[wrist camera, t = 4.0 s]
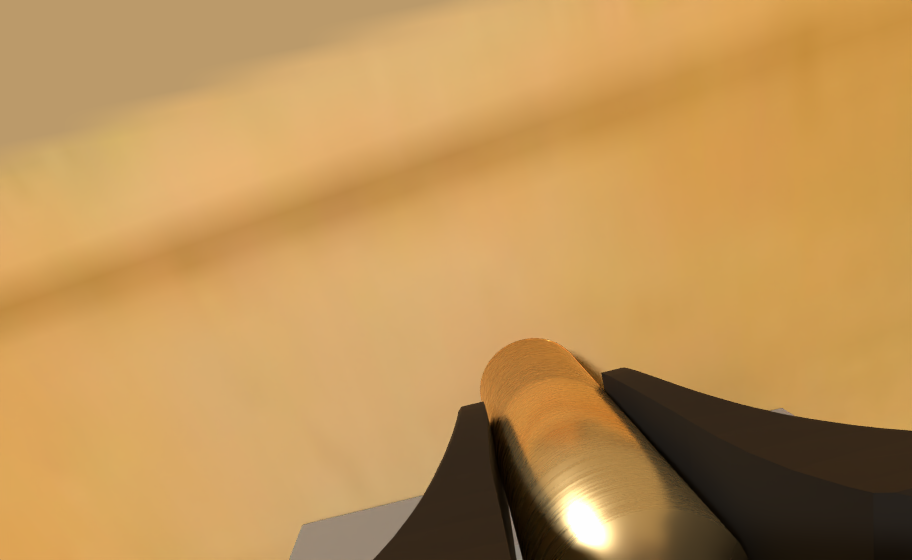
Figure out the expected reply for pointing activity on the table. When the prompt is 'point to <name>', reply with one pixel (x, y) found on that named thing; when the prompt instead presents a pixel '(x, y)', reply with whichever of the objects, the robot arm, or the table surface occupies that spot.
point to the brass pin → (587, 468)
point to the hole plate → (364, 532)
